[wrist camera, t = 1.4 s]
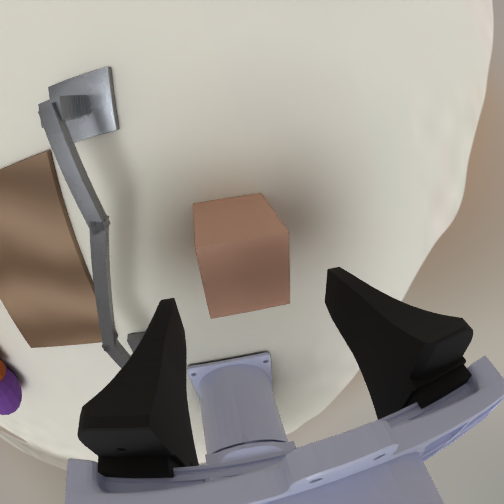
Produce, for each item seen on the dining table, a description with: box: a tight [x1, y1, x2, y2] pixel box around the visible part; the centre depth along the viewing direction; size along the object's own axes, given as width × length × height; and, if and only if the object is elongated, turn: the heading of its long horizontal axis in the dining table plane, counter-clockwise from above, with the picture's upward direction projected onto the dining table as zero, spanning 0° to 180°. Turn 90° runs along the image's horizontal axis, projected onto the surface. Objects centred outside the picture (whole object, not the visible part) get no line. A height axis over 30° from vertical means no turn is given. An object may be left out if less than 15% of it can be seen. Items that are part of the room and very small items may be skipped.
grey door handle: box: [38, 66, 145, 368], centre depth 17 cm, size 24×4×5 cm, turn 5°
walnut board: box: [0, 150, 118, 348], centre depth 18 cm, size 16×10×1 cm, turn 5°
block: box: [193, 193, 290, 319], centre depth 18 cm, size 4×4×6 cm
